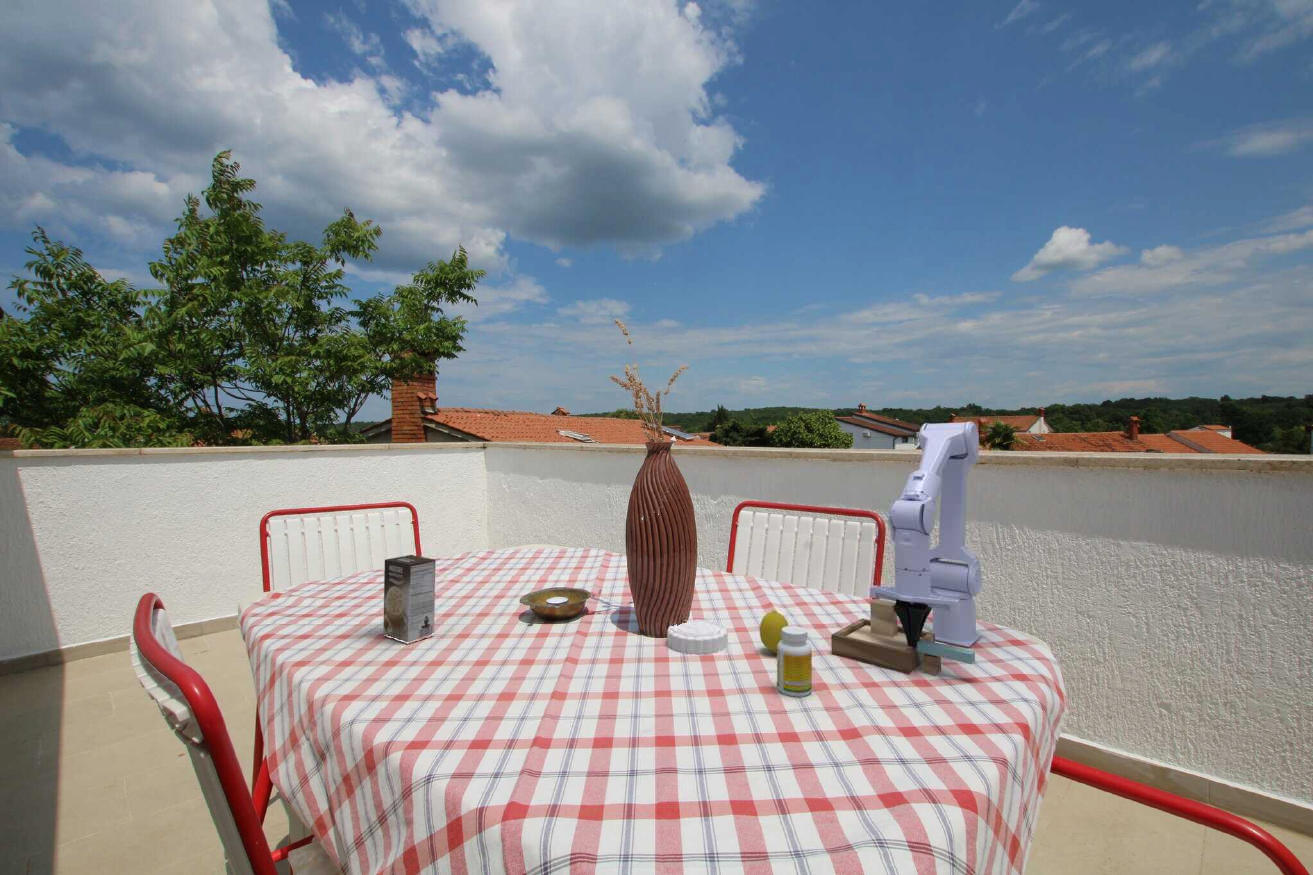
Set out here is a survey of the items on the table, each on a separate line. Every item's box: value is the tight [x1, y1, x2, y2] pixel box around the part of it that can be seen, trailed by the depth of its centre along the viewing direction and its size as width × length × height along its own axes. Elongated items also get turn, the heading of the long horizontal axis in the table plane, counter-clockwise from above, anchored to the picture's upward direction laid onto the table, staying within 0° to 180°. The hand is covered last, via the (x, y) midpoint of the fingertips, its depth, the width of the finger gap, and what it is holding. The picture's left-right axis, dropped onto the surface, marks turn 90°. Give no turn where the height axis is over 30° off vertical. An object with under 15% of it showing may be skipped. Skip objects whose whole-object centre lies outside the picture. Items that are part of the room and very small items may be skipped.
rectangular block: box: [917, 640, 976, 665], centre depth 93 cm, size 2×8×2 cm, turn 46°
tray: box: [830, 618, 942, 677], centre depth 102 cm, size 14×18×4 cm
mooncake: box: [666, 619, 729, 656], centre depth 109 cm, size 12×12×4 cm
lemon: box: [759, 610, 790, 654], centre depth 103 cm, size 6×6×8 cm
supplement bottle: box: [776, 625, 813, 698], centre depth 87 cm, size 5×5×10 cm
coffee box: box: [382, 554, 437, 642], centre depth 113 cm, size 9×6×16 cm
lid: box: [847, 598, 923, 650], centre depth 103 cm, size 11×11×7 cm
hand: (913, 645), depth 96 cm, fingers closed
